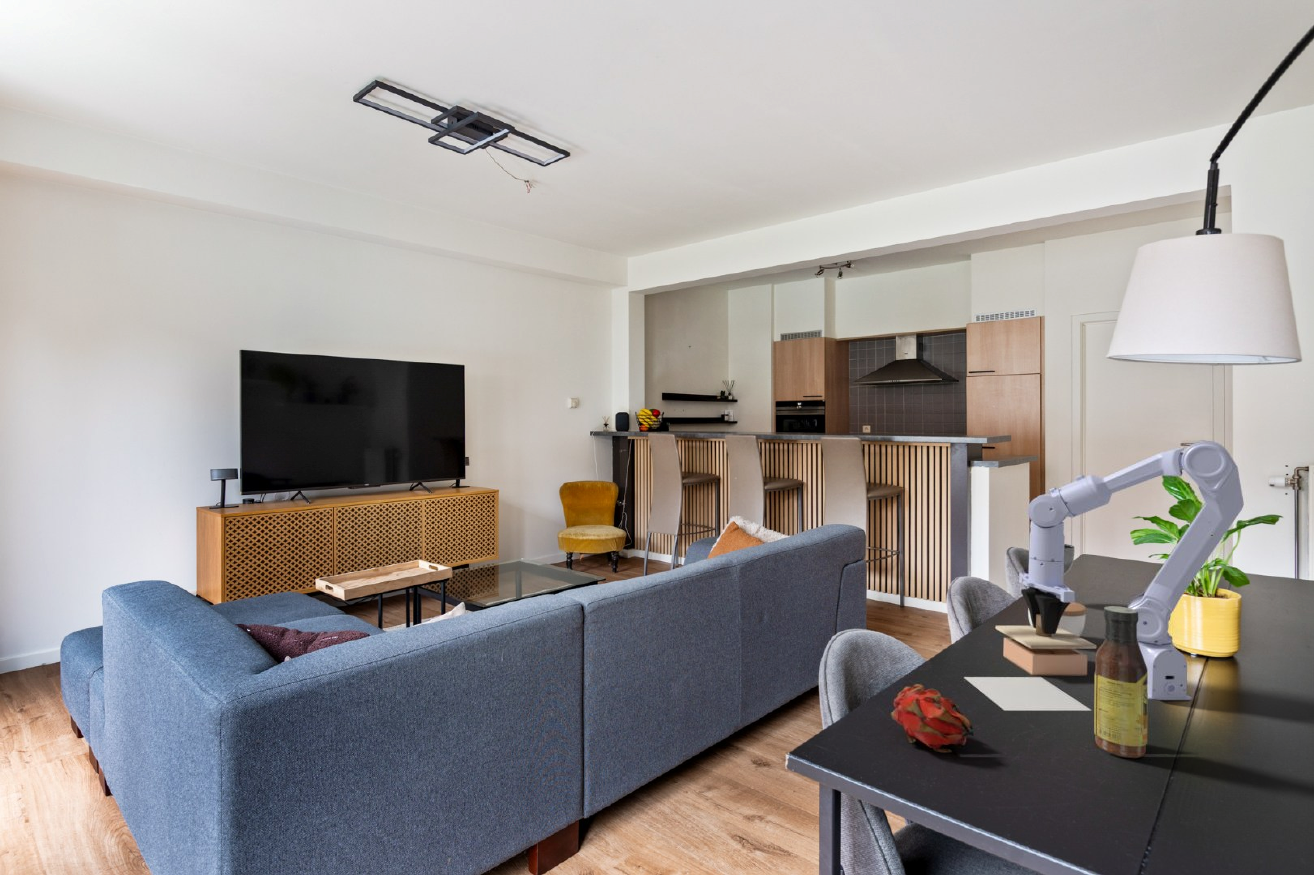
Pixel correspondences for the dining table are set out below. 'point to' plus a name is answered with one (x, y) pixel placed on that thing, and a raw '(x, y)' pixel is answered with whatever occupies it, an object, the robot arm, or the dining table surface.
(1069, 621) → the lidded jar
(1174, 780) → the dining table surface
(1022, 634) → the birch lid
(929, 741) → the dragon fruit
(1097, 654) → the sauce bottle
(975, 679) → the grey mat
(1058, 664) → the terracotta tray
